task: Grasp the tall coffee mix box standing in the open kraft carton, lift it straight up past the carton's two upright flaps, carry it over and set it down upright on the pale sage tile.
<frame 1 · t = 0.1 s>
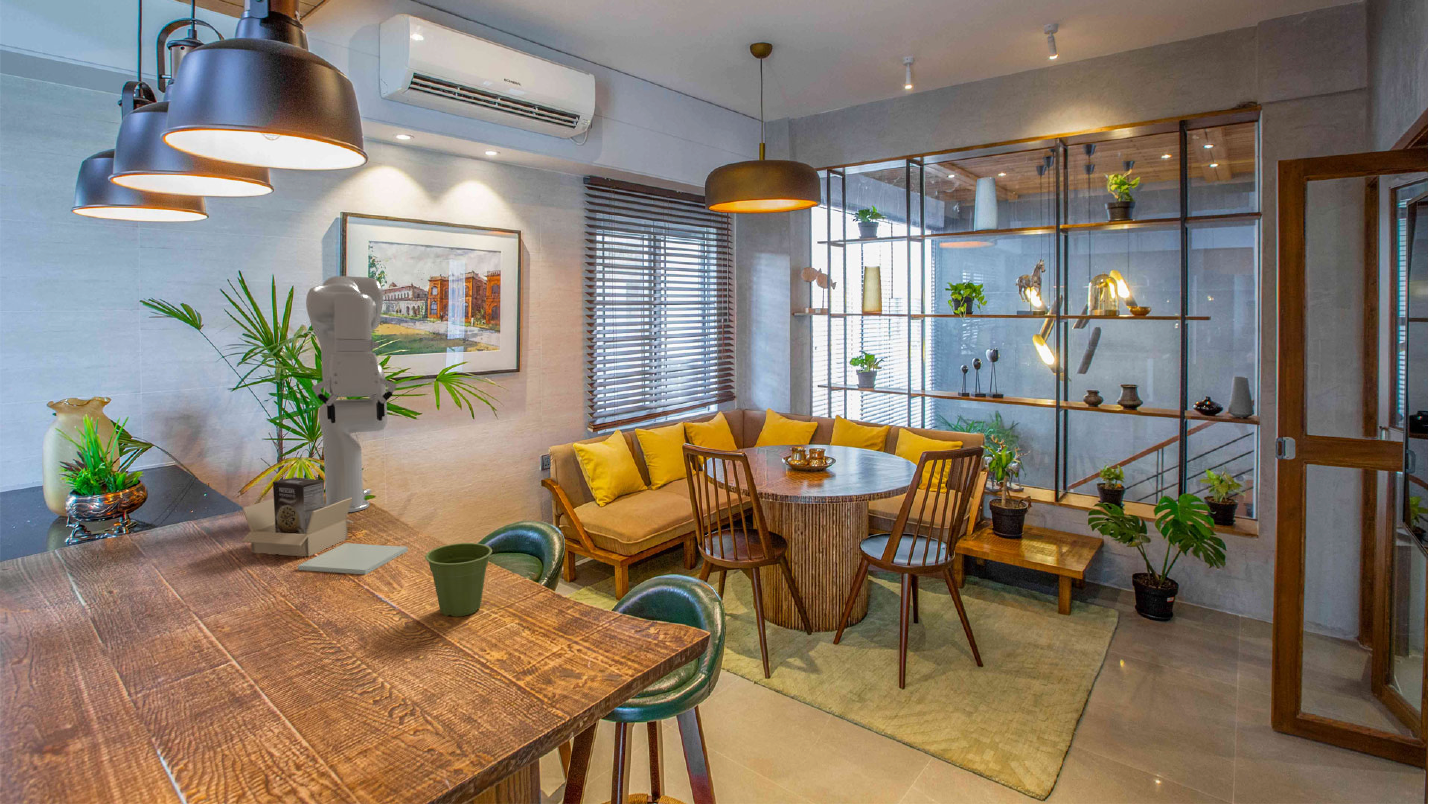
hand: (356, 421, 161), 31 cm above the counter, tool pointing down, fingers open, 9 cm apart
tile: (355, 560, 158), on the counter
coffee box: (301, 546, 168), resting in carton
plant pot: (460, 611, 132), on the counter
carton: (301, 545, 168), on the counter
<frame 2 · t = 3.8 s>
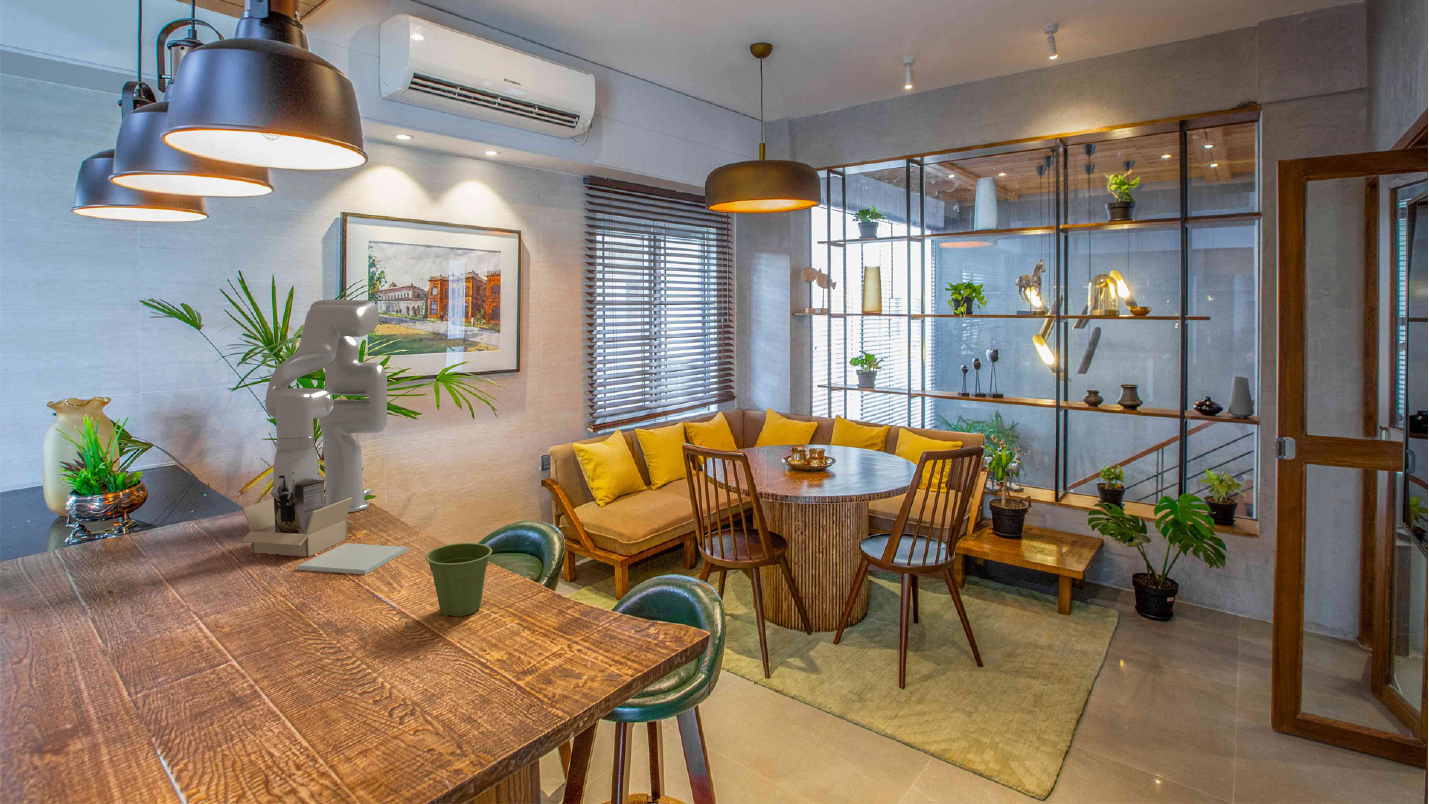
hand: (299, 516, 167), 7 cm above the counter, tool pointing down, fingers closed on coffee box, 7 cm apart
coffee box: (301, 546, 168), resting in carton, touching gripper
everything else where it was.
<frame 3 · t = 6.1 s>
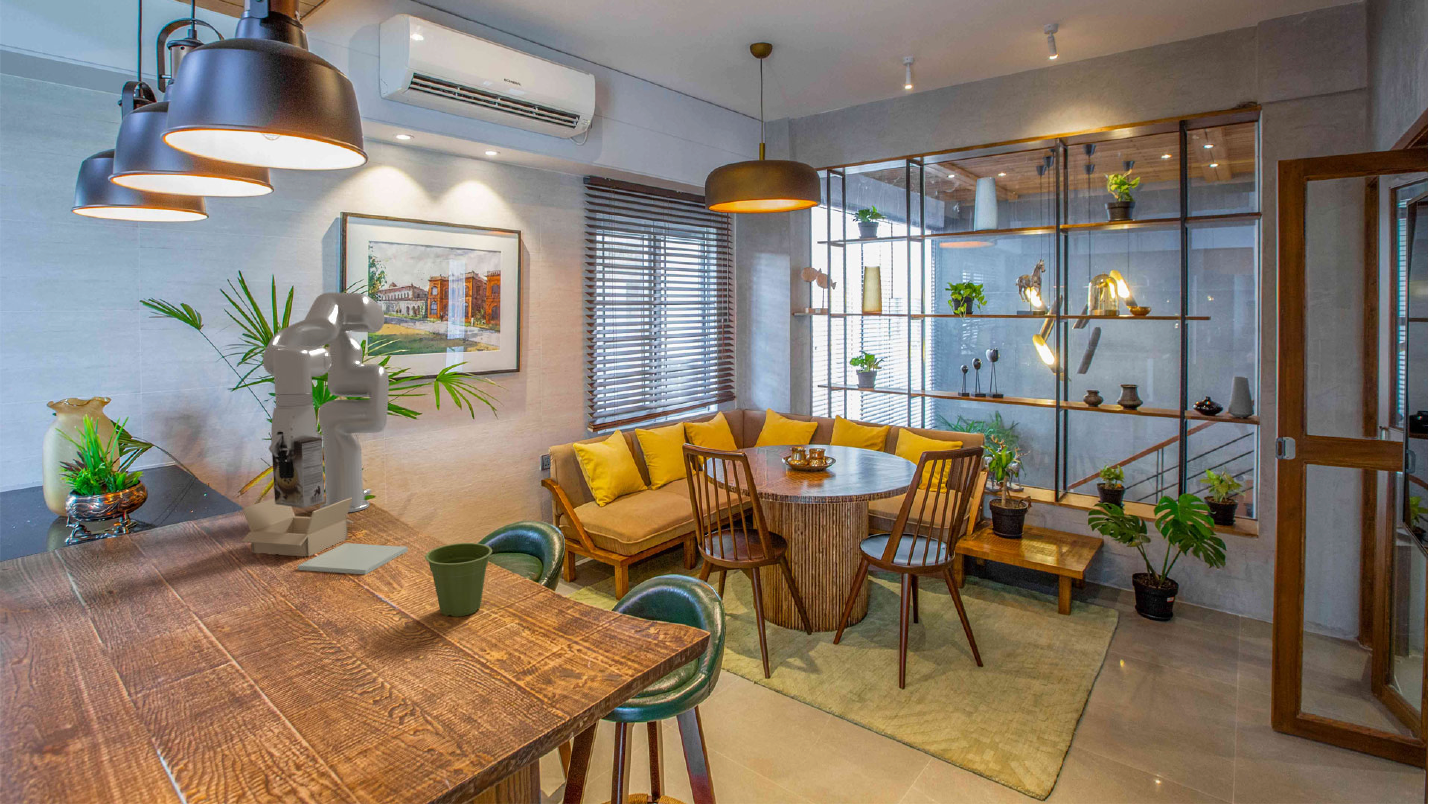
hand: (298, 473, 166), 18 cm above the counter, tool pointing down, fingers closed on coffee box, 7 cm apart
coffee box: (300, 504, 167), point 10 cm above the counter, touching gripper
everything else where it was.
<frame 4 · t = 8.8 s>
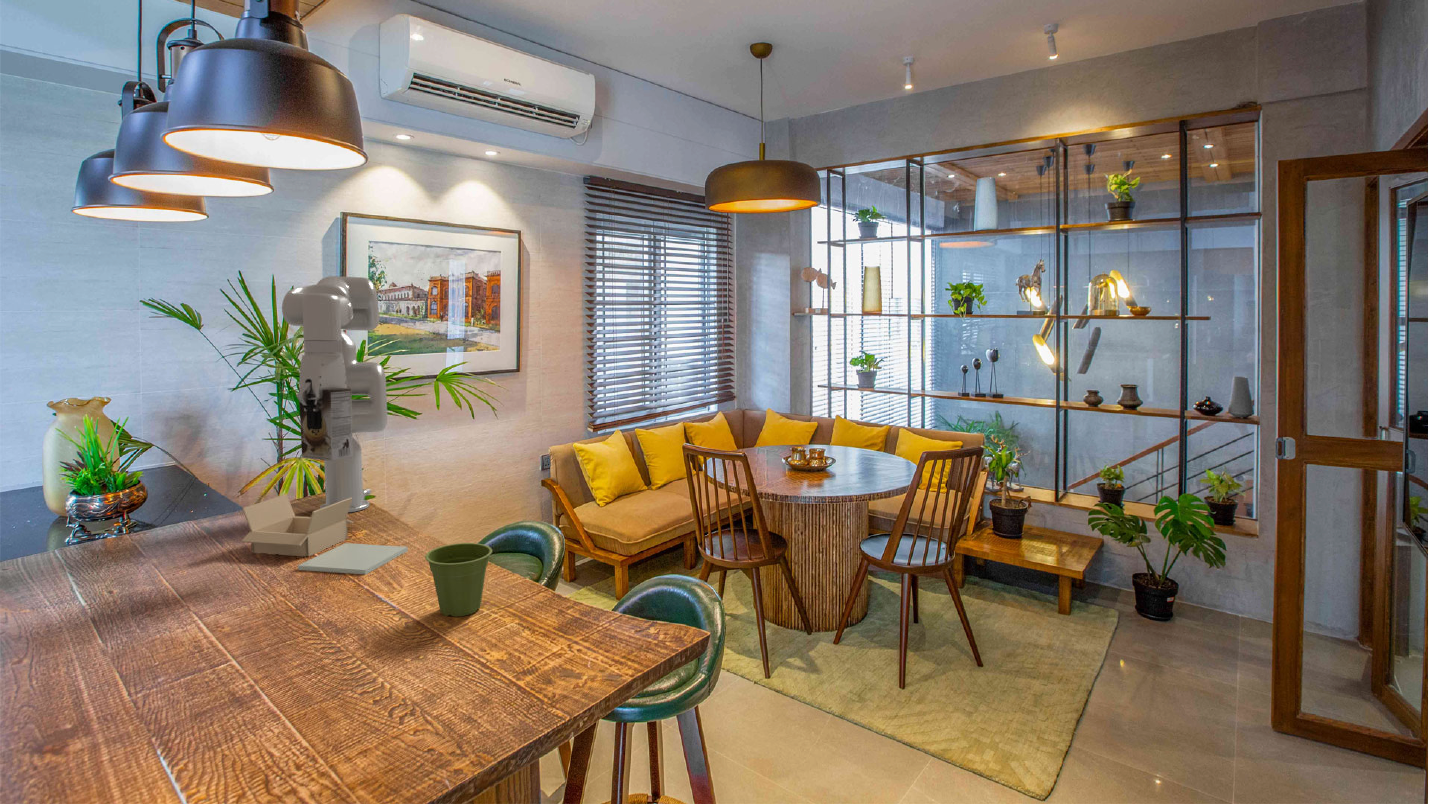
hand: (326, 426, 159), 30 cm above the counter, tool pointing down, fingers closed on coffee box, 7 cm apart
coffee box: (327, 458, 160), point 23 cm above the counter, touching gripper
everything else where it was.
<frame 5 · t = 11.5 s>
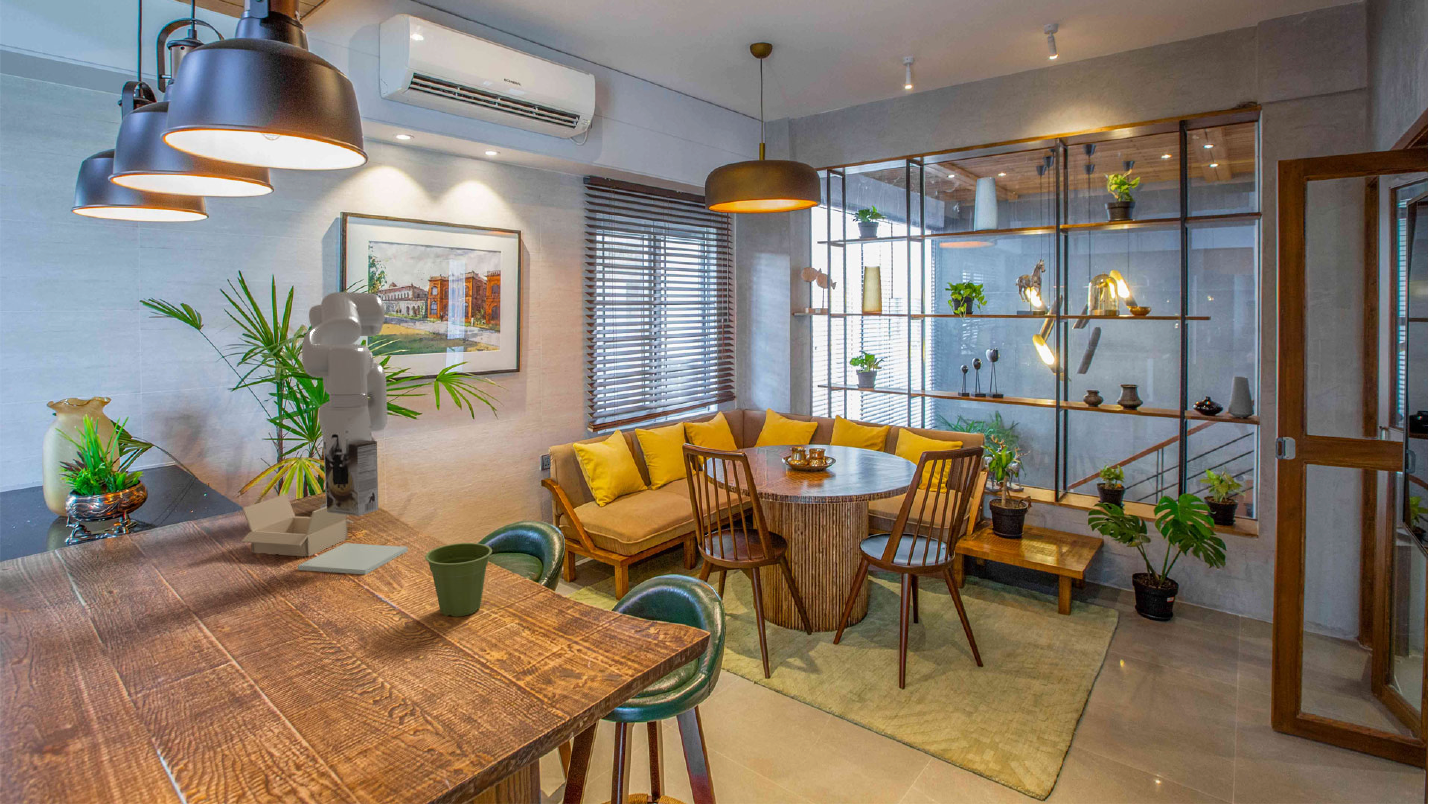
hand: (351, 479, 156), 19 cm above the counter, tool pointing down, fingers closed on coffee box, 7 cm apart
coffee box: (353, 512, 157), point 11 cm above the counter, touching gripper
everything else where it was.
when the fingers open (10 cm above the counter, at t = 13.8 s): coffee box drops 1 cm, resting on tile.
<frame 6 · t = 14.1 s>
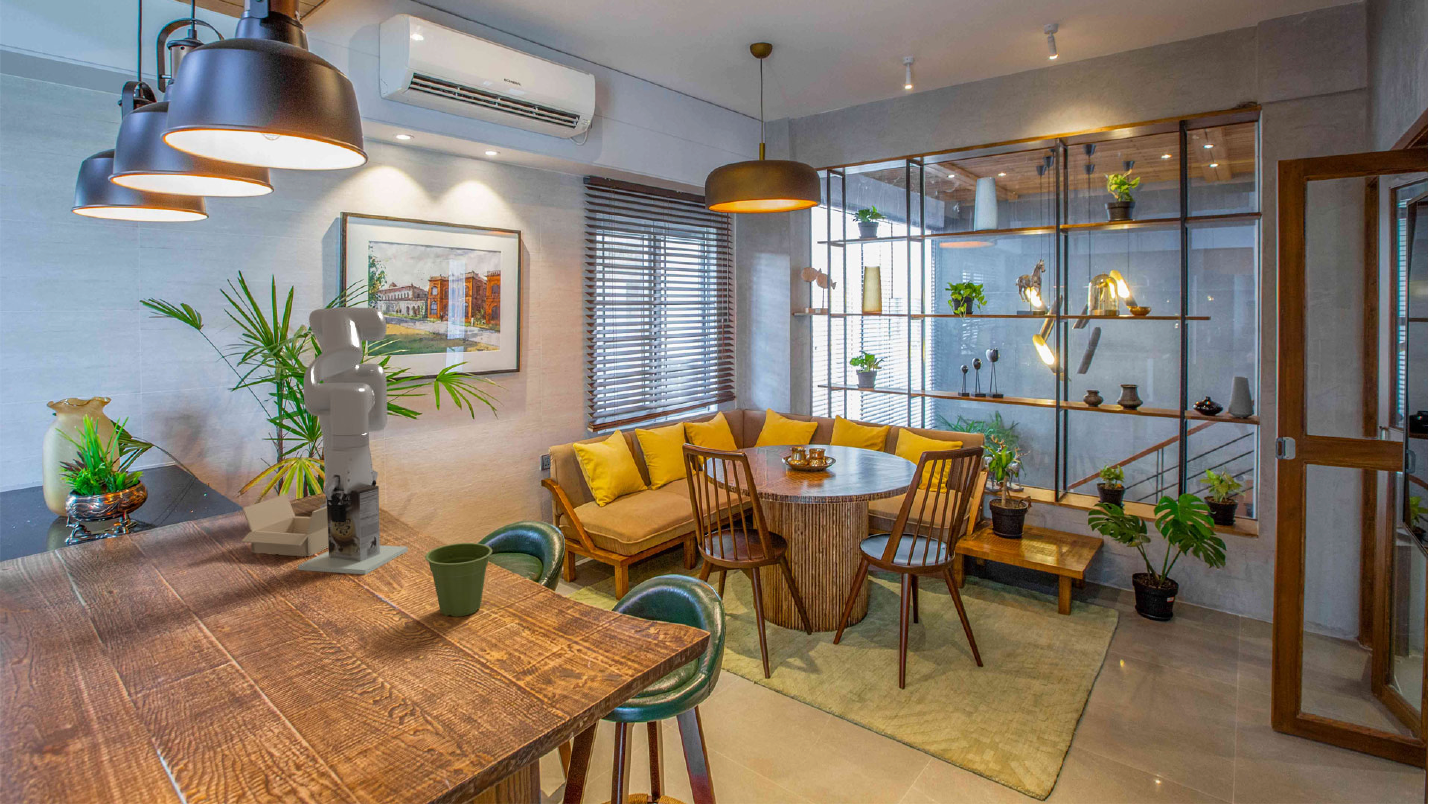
hand: (353, 516, 157), 10 cm above the counter, tool pointing down, fingers open, 9 cm apart
coffee box: (354, 556, 158), point 1 cm above the counter, touching tile
everything else where it was.
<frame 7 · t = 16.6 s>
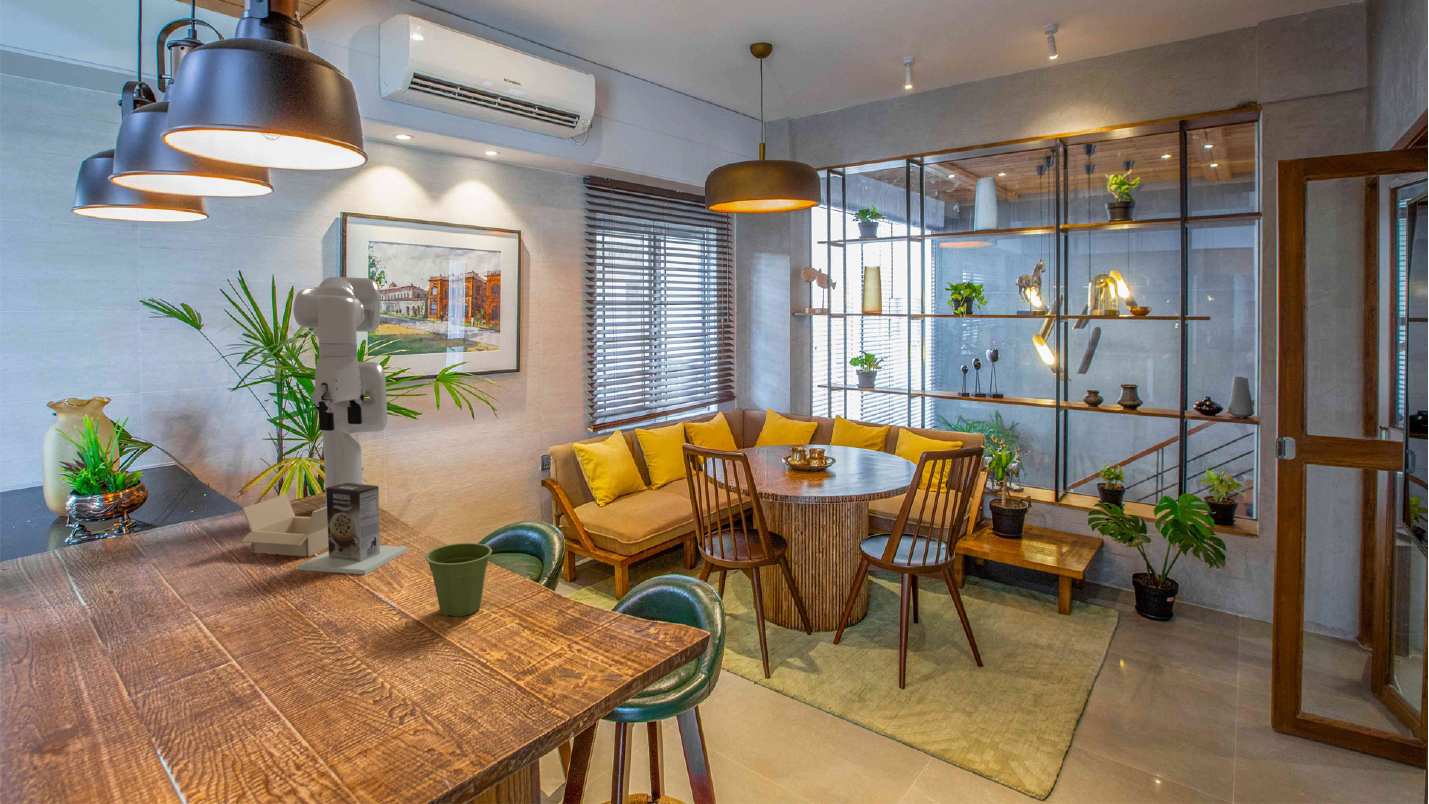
hand: (341, 426, 158), 30 cm above the counter, tool pointing down, fingers open, 9 cm apart
nothing on the counter moved.
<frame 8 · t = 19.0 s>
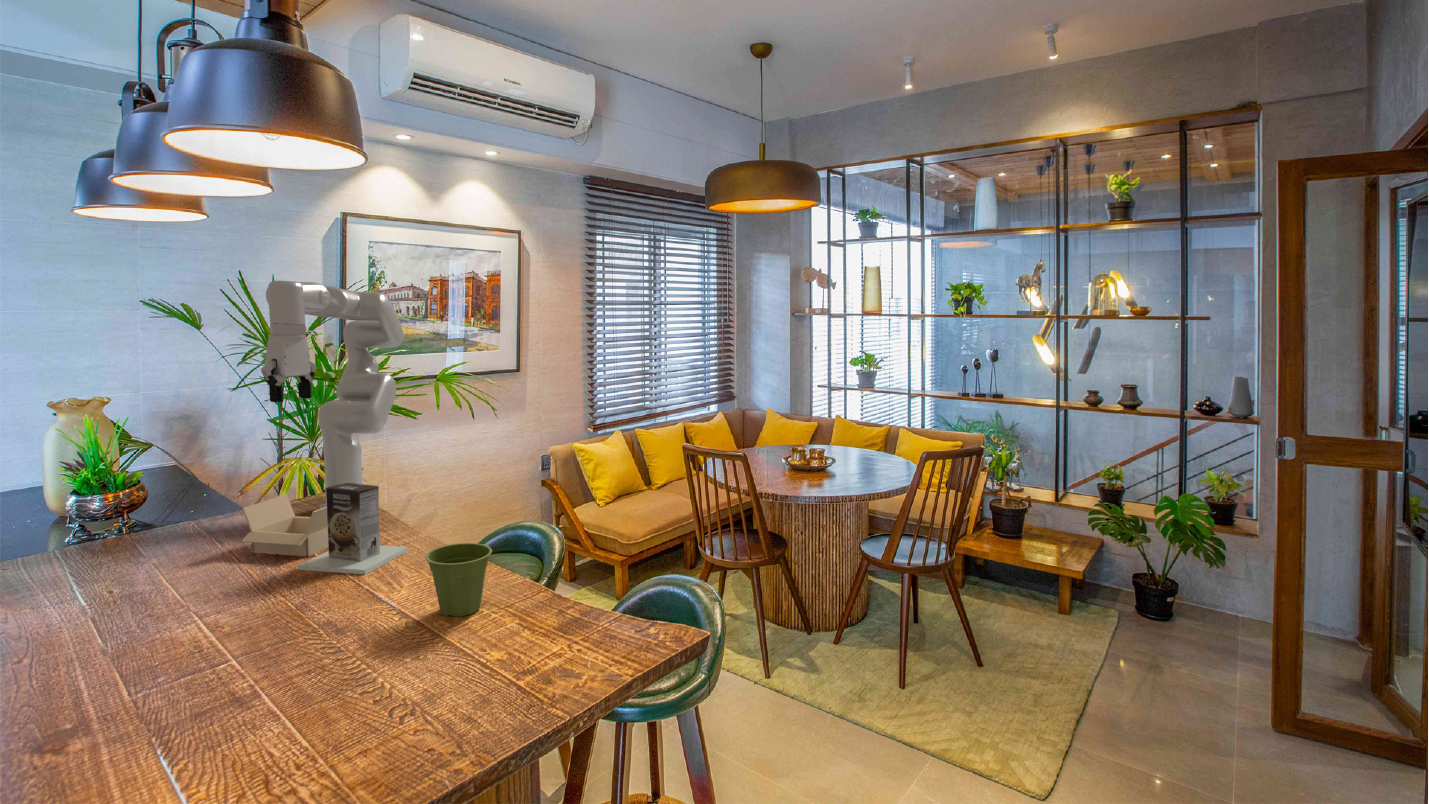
hand: (291, 399, 174), 34 cm above the counter, tool pointing down, fingers open, 9 cm apart
nothing on the counter moved.
at the end: coffee box inside the target area on the tile (0.2 cm from its centre), point 0.8 cm above the tile's base; coffee box tilted 0°; the gripper is holding nothing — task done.
